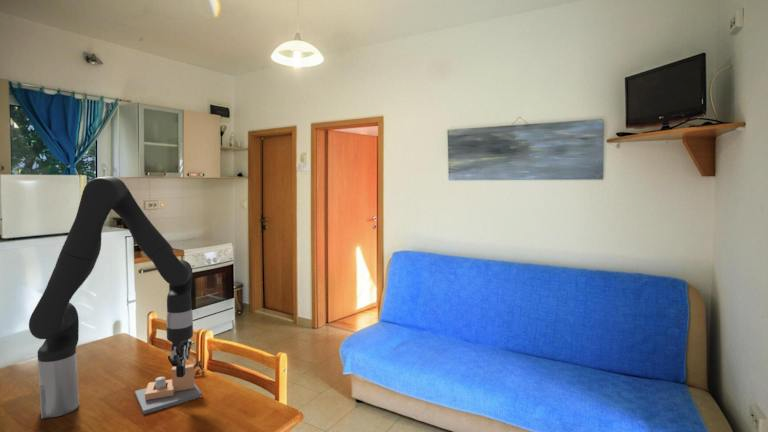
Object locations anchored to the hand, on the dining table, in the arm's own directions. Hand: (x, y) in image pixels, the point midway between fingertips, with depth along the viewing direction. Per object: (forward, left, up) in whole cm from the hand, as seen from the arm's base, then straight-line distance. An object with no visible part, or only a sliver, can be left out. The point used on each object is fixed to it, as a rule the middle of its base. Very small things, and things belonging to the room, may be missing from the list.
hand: (180, 376), depth 136 cm
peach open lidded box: (-2, +6, -7) cm, 9 cm away
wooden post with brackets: (+8, +17, -9) cm, 20 cm away
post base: (-3, +6, -8) cm, 10 cm away
